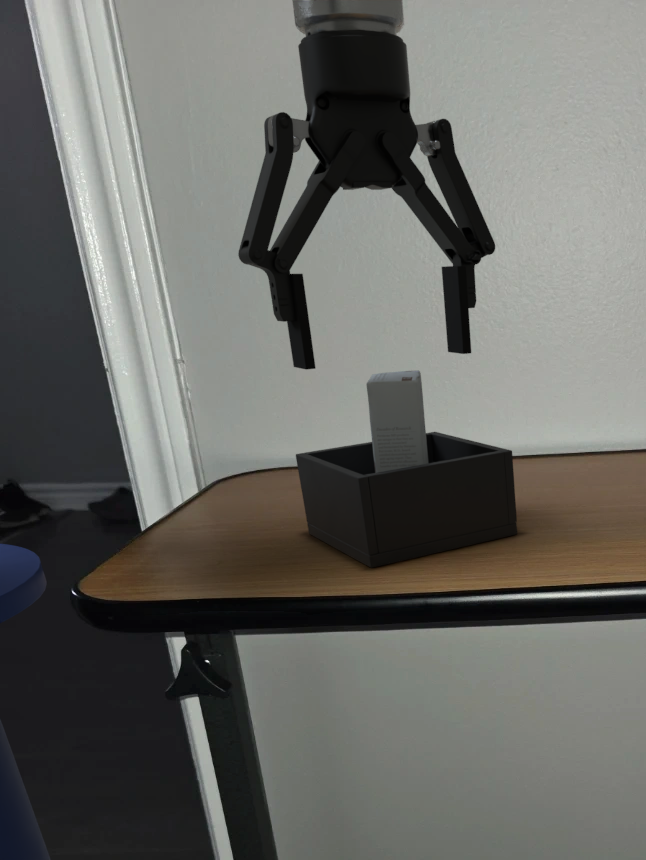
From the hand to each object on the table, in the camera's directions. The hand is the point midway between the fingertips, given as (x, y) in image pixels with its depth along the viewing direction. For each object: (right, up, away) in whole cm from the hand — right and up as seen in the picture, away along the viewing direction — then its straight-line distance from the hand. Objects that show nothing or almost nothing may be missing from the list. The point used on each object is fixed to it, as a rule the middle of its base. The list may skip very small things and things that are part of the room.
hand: (385, 360), depth 74 cm
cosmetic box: (+1, -12, +6) cm, 13 cm away
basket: (+1, -13, +6) cm, 14 cm away
